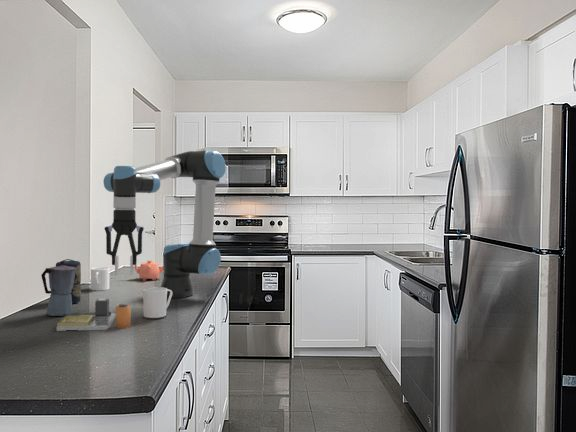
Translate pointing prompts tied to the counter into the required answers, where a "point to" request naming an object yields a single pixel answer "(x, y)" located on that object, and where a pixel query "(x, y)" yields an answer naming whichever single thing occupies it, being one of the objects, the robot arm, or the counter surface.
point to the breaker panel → (85, 321)
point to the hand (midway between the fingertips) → (124, 273)
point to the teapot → (148, 270)
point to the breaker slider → (102, 307)
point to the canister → (77, 280)
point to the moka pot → (59, 289)
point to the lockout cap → (123, 316)
